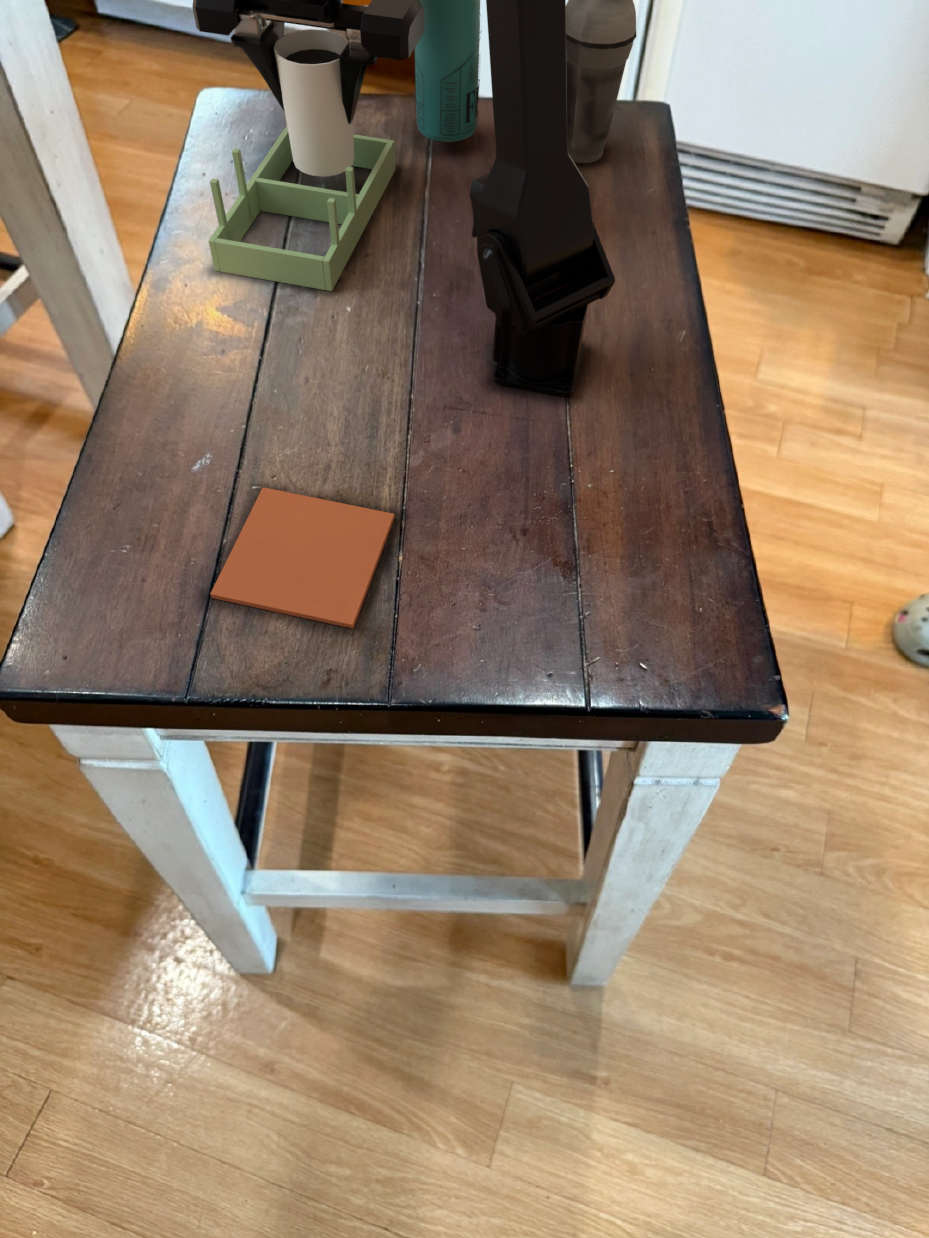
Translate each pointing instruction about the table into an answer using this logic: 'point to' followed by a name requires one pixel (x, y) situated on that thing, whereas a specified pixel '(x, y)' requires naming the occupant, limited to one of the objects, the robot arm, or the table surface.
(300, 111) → the off-white tumbler
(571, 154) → the beverage cup
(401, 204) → the table surface
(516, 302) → the robot arm
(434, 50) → the beverage bottle
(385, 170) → the dish rack
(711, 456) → the table surface
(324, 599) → the mat
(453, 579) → the table surface
